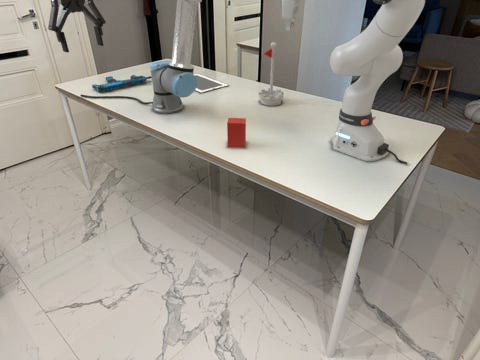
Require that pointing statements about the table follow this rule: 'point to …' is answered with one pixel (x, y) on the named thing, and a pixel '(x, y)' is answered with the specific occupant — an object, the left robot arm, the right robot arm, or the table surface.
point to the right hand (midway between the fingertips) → (289, 28)
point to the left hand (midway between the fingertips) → (84, 48)
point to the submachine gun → (119, 83)
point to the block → (236, 132)
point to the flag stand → (271, 84)
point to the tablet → (207, 84)
